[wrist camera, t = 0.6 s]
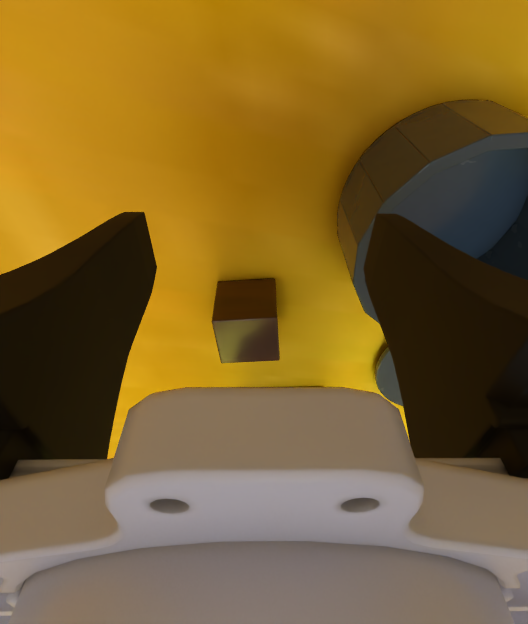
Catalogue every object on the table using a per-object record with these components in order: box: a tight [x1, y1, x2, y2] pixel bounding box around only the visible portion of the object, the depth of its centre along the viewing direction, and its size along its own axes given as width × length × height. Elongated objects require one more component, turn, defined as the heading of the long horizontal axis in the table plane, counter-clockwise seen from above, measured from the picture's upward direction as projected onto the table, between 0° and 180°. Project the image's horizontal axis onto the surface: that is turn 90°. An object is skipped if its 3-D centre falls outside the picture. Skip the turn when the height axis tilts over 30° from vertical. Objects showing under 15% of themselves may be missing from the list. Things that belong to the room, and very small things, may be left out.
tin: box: [337, 100, 528, 324], centre depth 19 cm, size 11×11×5 cm
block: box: [212, 279, 280, 363], centre depth 24 cm, size 4×4×4 cm
